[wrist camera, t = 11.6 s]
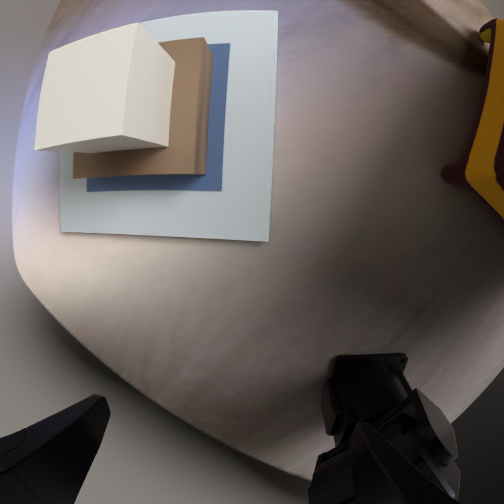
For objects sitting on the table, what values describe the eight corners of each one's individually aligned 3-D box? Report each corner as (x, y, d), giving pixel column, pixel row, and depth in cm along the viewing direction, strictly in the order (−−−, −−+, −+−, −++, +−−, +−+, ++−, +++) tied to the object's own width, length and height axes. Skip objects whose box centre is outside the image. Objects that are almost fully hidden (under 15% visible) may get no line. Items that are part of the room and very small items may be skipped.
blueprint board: (277, 17, 15) (278, -13, 11) (268, 238, 19) (268, 254, 15) (83, 45, 16) (55, 30, 12) (68, 229, 20) (36, 240, 16)
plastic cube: (175, 62, 13) (138, 22, 8) (168, 146, 14) (122, 134, 9) (100, 75, 13) (49, 51, 8) (92, 153, 14) (34, 150, 9)
